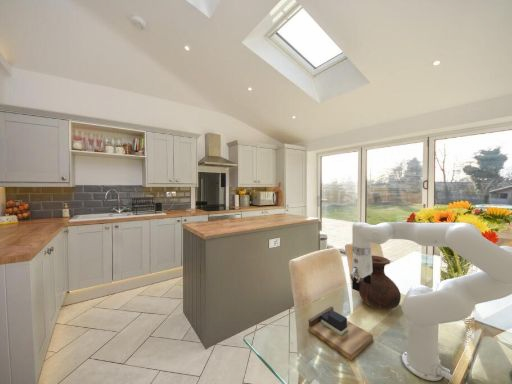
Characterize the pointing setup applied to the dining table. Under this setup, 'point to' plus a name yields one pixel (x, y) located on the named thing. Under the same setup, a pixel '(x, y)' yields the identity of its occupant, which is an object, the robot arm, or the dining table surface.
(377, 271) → the jug
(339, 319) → the black block white base
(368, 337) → the sharpening stone holder
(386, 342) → the dining table surface
